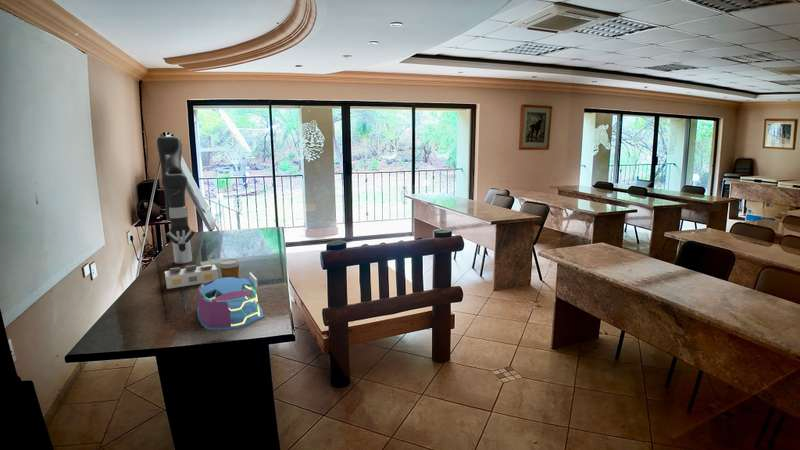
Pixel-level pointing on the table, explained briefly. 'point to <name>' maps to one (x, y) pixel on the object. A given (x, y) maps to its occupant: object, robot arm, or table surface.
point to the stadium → (228, 303)
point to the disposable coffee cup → (229, 268)
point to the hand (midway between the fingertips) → (182, 251)
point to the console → (190, 276)
